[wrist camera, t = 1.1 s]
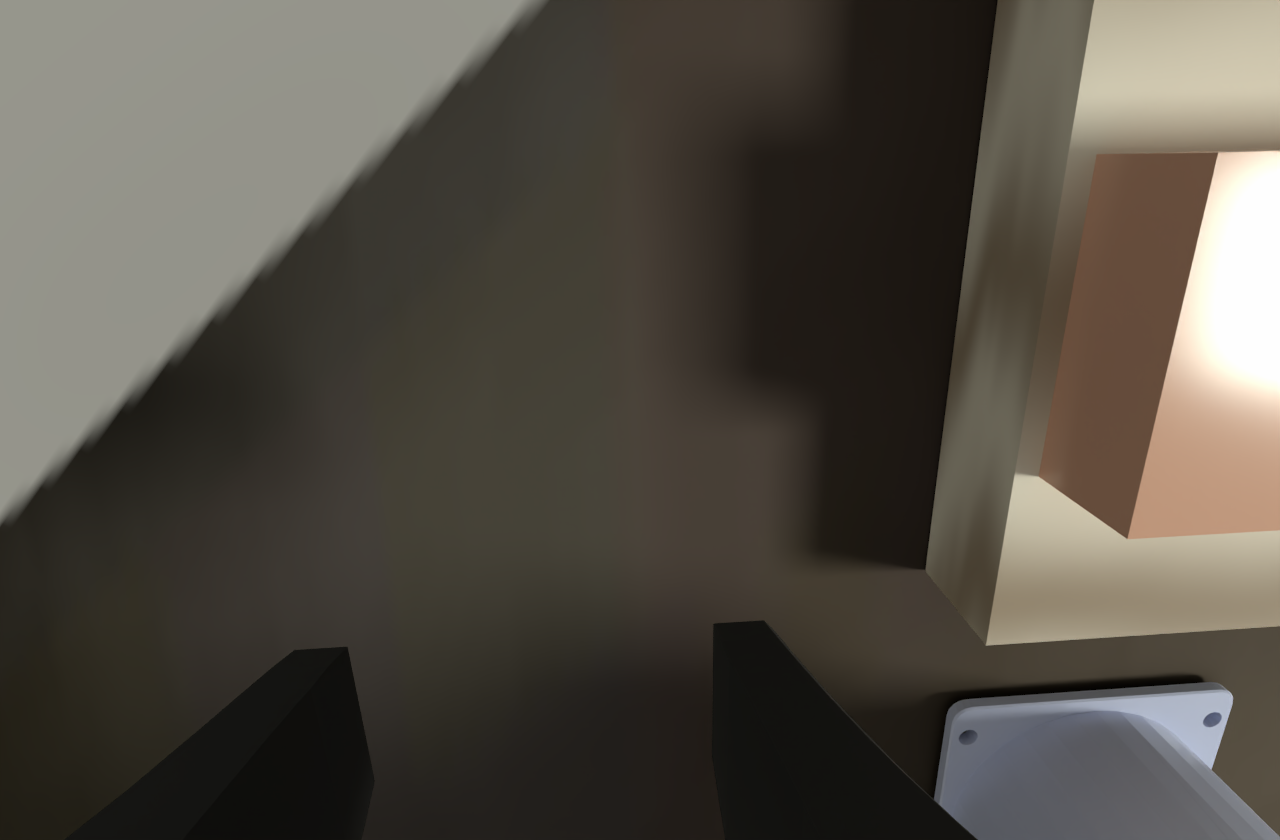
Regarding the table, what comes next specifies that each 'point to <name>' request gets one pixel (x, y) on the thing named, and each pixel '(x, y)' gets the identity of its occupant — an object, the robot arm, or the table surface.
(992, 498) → the bench plate
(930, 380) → the table surface
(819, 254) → the table surface
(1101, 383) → the tile
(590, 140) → the table surface
